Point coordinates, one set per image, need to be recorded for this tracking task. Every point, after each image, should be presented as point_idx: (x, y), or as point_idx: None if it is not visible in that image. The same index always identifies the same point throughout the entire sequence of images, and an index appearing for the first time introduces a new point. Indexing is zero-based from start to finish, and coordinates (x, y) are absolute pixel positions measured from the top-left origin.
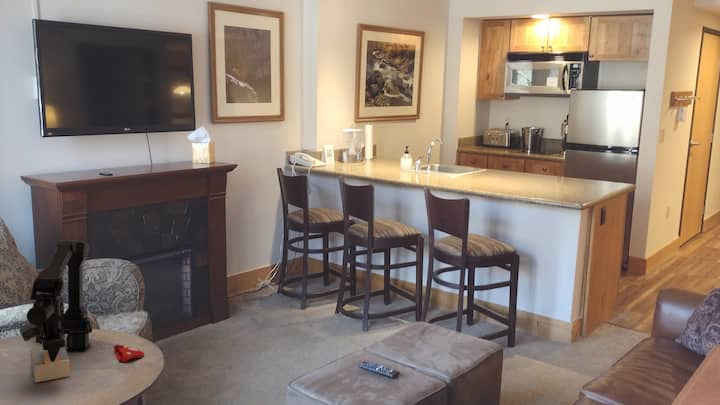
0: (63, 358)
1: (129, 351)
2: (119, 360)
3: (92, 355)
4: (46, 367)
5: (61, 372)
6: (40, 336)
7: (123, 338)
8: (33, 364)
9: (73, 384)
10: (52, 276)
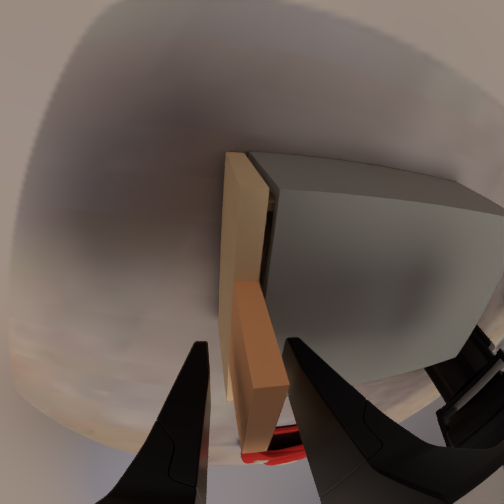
0: None
1: (271, 461)
2: None
3: None
4: (230, 269)
5: (221, 312)
6: (494, 471)
7: (398, 416)
8: (360, 185)
9: (130, 320)
10: None
